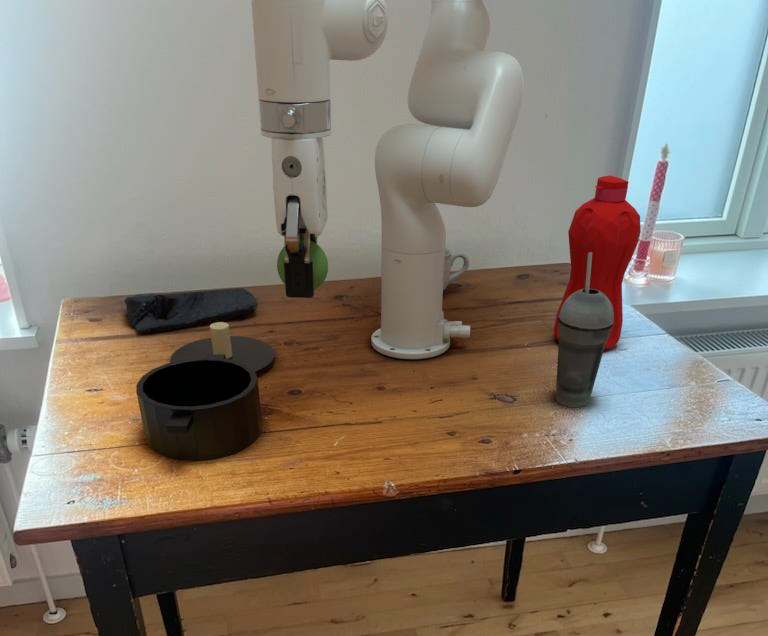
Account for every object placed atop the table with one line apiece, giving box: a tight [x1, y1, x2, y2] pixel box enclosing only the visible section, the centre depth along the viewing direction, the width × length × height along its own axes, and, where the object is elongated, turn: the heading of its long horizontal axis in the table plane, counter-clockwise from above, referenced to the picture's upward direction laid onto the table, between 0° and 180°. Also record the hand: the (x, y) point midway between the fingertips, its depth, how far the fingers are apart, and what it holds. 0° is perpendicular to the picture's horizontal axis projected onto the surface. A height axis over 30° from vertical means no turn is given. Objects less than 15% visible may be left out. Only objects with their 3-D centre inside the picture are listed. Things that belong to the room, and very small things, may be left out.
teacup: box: [443, 247, 470, 291], centre depth 138 cm, size 14×11×8 cm
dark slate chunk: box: [124, 287, 258, 334], centre depth 129 cm, size 15×22×5 cm
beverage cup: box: [555, 252, 614, 408], centre depth 99 cm, size 7×7×20 cm
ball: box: [276, 240, 329, 291], centre depth 89 cm, size 6×6×6 cm
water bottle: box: [553, 174, 642, 350], centre depth 115 cm, size 9×11×25 cm
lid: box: [169, 321, 276, 376], centre depth 112 cm, size 16×16×6 cm
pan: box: [135, 354, 263, 462], centre depth 95 cm, size 15×20×7 cm
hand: (303, 286), depth 90 cm, fingers closed on ball, 5 cm apart
